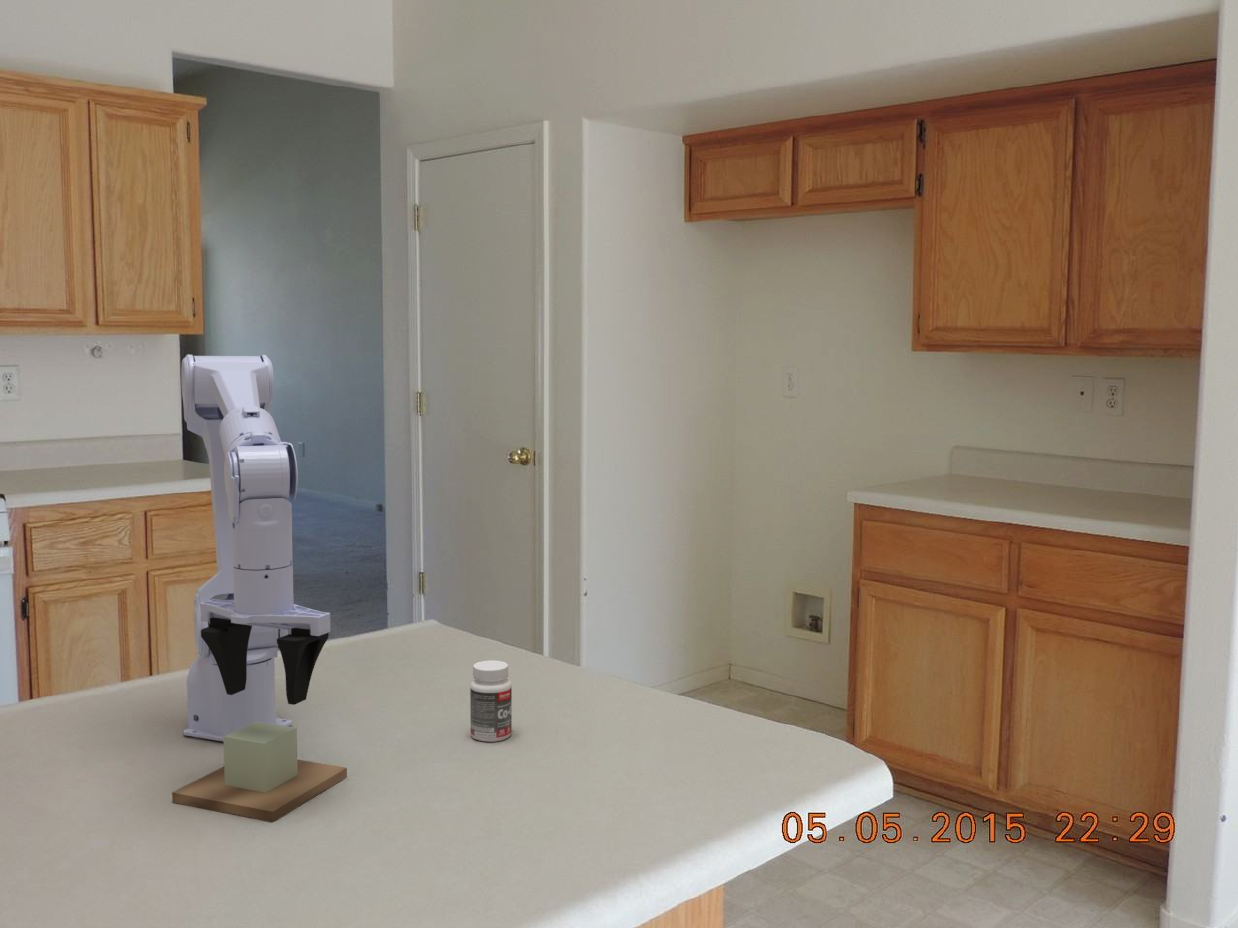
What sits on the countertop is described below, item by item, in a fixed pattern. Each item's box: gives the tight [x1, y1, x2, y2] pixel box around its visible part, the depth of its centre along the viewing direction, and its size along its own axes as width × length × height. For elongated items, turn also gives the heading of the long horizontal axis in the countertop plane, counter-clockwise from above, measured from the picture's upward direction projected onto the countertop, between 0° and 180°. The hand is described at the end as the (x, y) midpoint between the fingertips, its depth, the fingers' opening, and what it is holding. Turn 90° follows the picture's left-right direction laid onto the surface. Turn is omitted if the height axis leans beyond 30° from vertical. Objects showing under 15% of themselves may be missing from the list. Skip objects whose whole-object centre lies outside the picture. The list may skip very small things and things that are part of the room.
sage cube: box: [223, 721, 298, 793], centre depth 114 cm, size 5×5×5 cm
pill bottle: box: [469, 660, 513, 743], centre depth 131 cm, size 5×5×8 cm
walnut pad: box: [171, 758, 348, 823], centre depth 115 cm, size 12×12×1 cm
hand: (266, 696), depth 115 cm, fingers open, 7 cm apart
